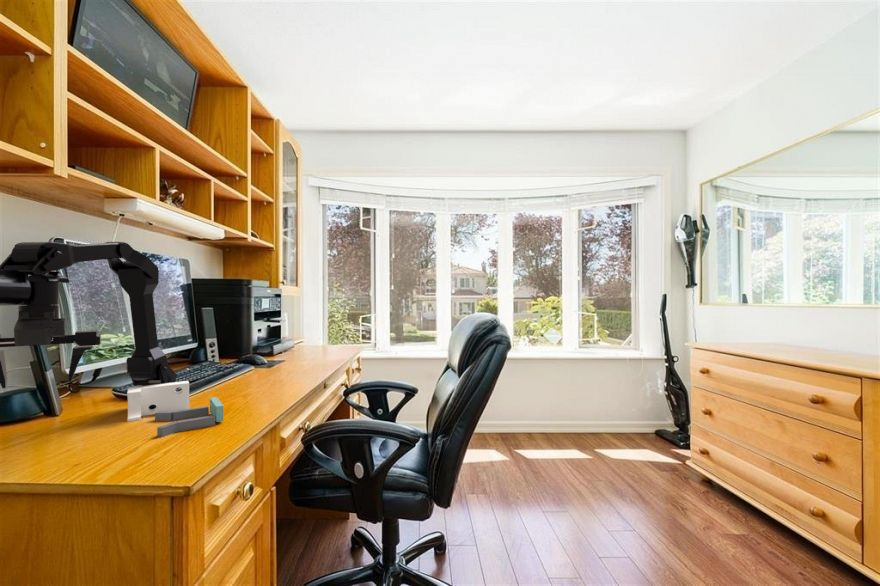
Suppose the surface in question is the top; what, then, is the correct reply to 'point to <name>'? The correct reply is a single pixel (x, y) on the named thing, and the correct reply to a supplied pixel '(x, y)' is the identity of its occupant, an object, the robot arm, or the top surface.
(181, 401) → the bracket
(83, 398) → the top surface
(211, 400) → the end stop
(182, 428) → the guide dock
